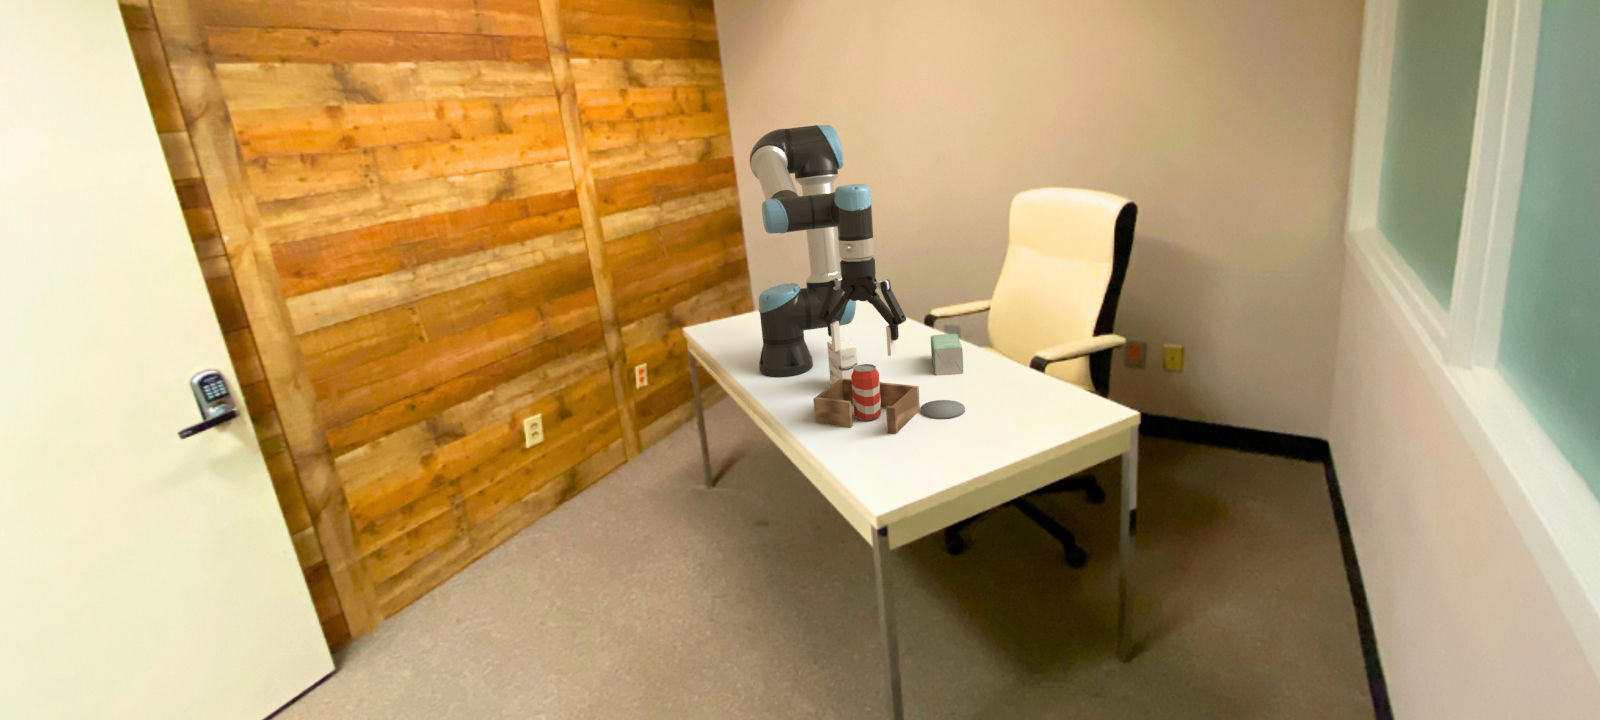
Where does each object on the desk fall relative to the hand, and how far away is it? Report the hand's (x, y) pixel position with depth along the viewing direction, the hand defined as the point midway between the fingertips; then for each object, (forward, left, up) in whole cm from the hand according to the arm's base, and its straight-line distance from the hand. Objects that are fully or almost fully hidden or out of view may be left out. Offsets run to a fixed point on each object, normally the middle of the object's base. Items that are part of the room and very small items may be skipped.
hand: (863, 352), depth 167 cm
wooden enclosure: (0, 0, -16) cm, 16 cm away
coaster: (+15, +9, -16) cm, 23 cm away
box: (+5, +38, -16) cm, 42 cm away
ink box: (-14, +16, -16) cm, 27 cm away
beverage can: (0, 0, -16) cm, 16 cm away
